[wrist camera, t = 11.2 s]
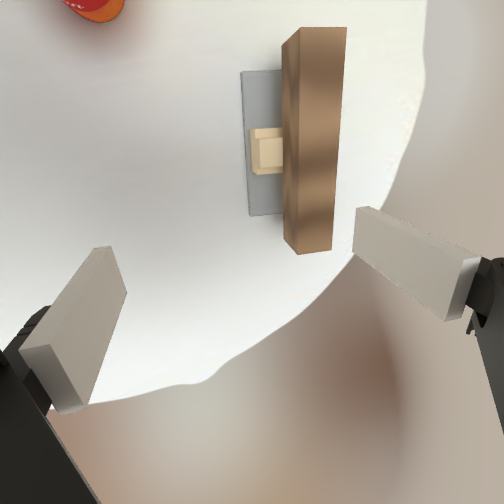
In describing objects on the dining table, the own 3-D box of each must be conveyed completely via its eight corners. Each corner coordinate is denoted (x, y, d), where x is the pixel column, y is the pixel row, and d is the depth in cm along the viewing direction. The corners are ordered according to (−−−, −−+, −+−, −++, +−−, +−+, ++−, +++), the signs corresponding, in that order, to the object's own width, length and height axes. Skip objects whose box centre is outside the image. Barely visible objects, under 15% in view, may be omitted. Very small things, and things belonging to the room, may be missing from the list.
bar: (281, 45, 26) (300, 27, 21) (320, 45, 26) (346, 27, 22) (283, 239, 34) (297, 254, 30) (313, 235, 35) (331, 250, 30)
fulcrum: (240, 73, 31) (251, 60, 26) (320, 71, 33) (347, 58, 27) (249, 214, 38) (258, 227, 33) (315, 206, 40) (334, 218, 34)
